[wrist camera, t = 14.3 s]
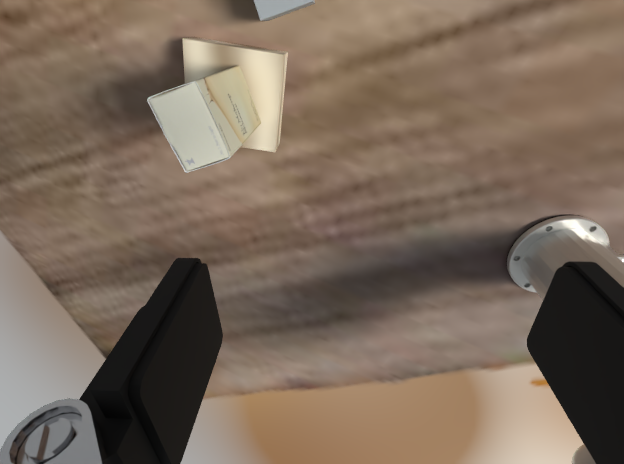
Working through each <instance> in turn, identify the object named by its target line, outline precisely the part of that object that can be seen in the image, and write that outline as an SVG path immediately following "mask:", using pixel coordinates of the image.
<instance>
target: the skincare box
mask: <svg viewBox="0 0 624 464" xmlns="http://www.w3.org/2000/svg"><path fill="white" fill-rule="evenodd" d="M147 101H148V104H149V106H150V107H151V109H152V111H153V113H154V115H155V117H156V119H157V121H158V123H159V125H160V127H161V129H162V131H163V133H164V135H165V137H166V138H167V140H168V142H169V144H170V145H171V147H172V149H173V151H174V153H175V155H176V156H177V158H178V160H179V162H180V164H181V165H182V167H183V169H184V171H185V172H186V173H187V172H190V171H194V170H197V169H201V168H204V167H207V166H210V165H214V164H216V163H219V162H222V161H225V160H227V159H230V158H231V156H232V155H233V154H234V153H235V152H236V151H237V150H238V149H239V148H240V147H241V145H242V144H243V143H244V142H245V141H246V140H247V139H248V138H249V136H250V135H251V134H252V133H253V132H254V131H255V129H256V128H257V127H258V126H259V125H260V124H261V120H260V118H259V115H258V112H257V109H256V107H255V104H254V101H253V99H252V96H251V93H250V91H249V88H248V86H247V83H246V80H245V78H244V75H243V73H242V70H241V68H240V66H239V65H238V66H235V67H232V68H229V69H226V70H223V71H220V72H217V73H214V74H212V75H209V76H206V77H203V78H200V79H198V80H195V81H192V82H189V83H186V84H183V85H180V86H177V87H175V88H172V89H169V90H166V91H163V92H161V93H158V94H155V95H153V96H150V97H148V99H147Z"/></svg>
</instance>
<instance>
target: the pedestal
mask: <svg viewBox="0 0 624 464" xmlns="http://www.w3.org/2000/svg"><path fill="white" fill-rule="evenodd" d="M287 55H288V52H285V51H279V50H272V49H266V48H260V47H253V46H247V45H241V44H235V43H228V42H222V41H216V40H210V39H203V38H197V37H192V38H184V39H183V58H184V77H185V84H186V83H189V82H192V81H195V80H198V79H200V78H203V77H206V76H209V75H212V74H214V73H217V72H220V71H223V70H226V69H229V68H232V67H235V66H238V65H239V66H240V68H241V70H242V73H243V75H244V78H245V80H246V83H247V86H248V88H249V91H250V93H251V96H252V99H253V101H254V104H255V107H256V109H257V112H258V115H259V118H260V120H261V124H260V125H259V126H258V127H257V128H256V129H255V131H254V132H253V133H252V134H251V135H250V136H249V138H248V139H247V140H246V141H245V142H244V143H243V144H242V145H241V147H244V148H251V149H258V150H264V151H271V152H276V150H277V148H278V145H279V143H280V132H281V121H282V110H283V99H284V88H285V77H286V66H287Z"/></svg>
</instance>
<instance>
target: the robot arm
mask: <svg viewBox="0 0 624 464" xmlns="http://www.w3.org/2000/svg"><path fill="white" fill-rule="evenodd" d="M507 269H508V272H509V274H510V276H511V277H512V279H513V280H514V282H515V283H516V284H517V285H518V286H520V287H521V288H523V289H525V290H528V291H531V292H536V293H538V294H539V296H540V297H541V298H542V300H543V302H542V305H541V307H540V309H539V312H538V314H537V316H536V319H535V321H534V323H533V326H532V328H531V330H530V333H529V335H528V338H527V347H528V350H529V352H530V354H531V356H532V357H533V359H534V361H535V362H536V364H537V366H538V367H539V369H540V371H541V372H542V374H543V376H544V377H545V379H546V381H547V382H548V384H549V386H550V387H551V389H552V391H553V392H554V394H555V396H556V398H557V399H558V401H559V403H560V404H561V406H562V407H563V409H564V411H565V413H566V414H567V416H568V418H569V419H570V421H571V423H572V424H573V426H574V428H575V429H576V431H577V433H578V434H579V436H580V438H581V439H582V441H583V443H584V444H583V445H582V446H581V447H579V448H578V449H577V450H576V452H575V453H574V455H573V458H572V464H624V254H618V253H617V252H616V251H614V250H613V249H612V248H611V247H609V238H608V235H607V233H606V232H605V230H604V229H603V228H602V227H601V226H600V225H599V224H597V223H596V222H594V221H593V220H591V219H588V218H586V217H582V216H576V215H566V216H559V217H555V218H551V219H548V220H545V221H543V222H541V223H538V224H536V225H535V226H533V227H532V228H530V229H528V230H527V231H526V232H525V233H523V234H522V235H521V236H520V237H519V238H518V239H517V241H516V242H515V243H514V245H513V246H512V248H511V249H510V252H509V255H508V258H507ZM222 337H223V334H222V328H221V324H220V319H219V315H218V310H217V306H216V301H215V297H214V293H213V288H212V284H211V279H210V275H209V270H208V267H207V265H206V264H205V263H201V261H200V259H198V258H177V259H176V260H175V261H174V262H173V264H172V266H171V267H170V269H169V270H168V272H167V273H166V275H165V276H164V278H163V279H162V281H161V282H160V284H159V285H158V287H157V288H156V290H155V291H154V293H153V294H152V296H151V297H150V299H149V300H148V302H147V303H146V305H145V306H144V307H142V308H141V309H140V310H139V311H138V312H137V314H136V315H135V317H134V318H133V320H132V321H131V323H130V324H129V326H128V327H127V329H126V330H125V332H124V333H123V335H122V336H121V338H120V339H119V341H118V342H117V344H116V345H115V347H114V348H113V350H112V351H111V353H110V354H109V356H108V357H107V359H106V360H105V362H104V363H103V365H102V366H101V368H100V369H99V371H98V372H97V374H96V375H95V377H94V378H93V380H92V381H91V383H90V384H89V386H88V387H87V389H86V390H85V392H84V393H83V395H82V396H81V398H80V399H79V400H78V399H64V400H58V401H55V402H52V403H50V404H47V405H45V406H43V407H41V408H40V409H38V410H36V411H35V412H33V413H31V414H30V415H29V416H28V417H26V418H25V419H24V420H23V421H22V422H20V423H19V424H18V425H17V426H16V427H15V429H14V430H13V431H12V432H11V433H10V434H9V436H8V437H7V439H6V441H5V442H4V444H3V446H2V448H1V451H0V464H180V462H181V460H182V458H183V455H184V452H185V449H186V446H187V443H188V440H189V437H190V434H191V431H192V429H193V425H194V423H195V420H196V417H197V414H198V411H199V408H200V405H201V402H202V399H203V396H204V394H205V391H206V388H207V385H208V382H209V379H210V376H211V373H212V370H213V367H214V364H215V362H216V359H217V356H218V353H219V350H220V347H221V344H222Z"/></svg>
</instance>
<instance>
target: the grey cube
mask: <svg viewBox="0 0 624 464" xmlns="http://www.w3.org/2000/svg"><path fill="white" fill-rule="evenodd" d="M254 3H255V6H256V9H257V12H258V15H259V18H260V21H269V20H272V19H275V18H277V17H280V16H283V15H285V14H288V13H291V12H293V11H296V10H299V9H301V8H304V7H307V6H310V5H312V4H315V1H314V0H254Z"/></svg>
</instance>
